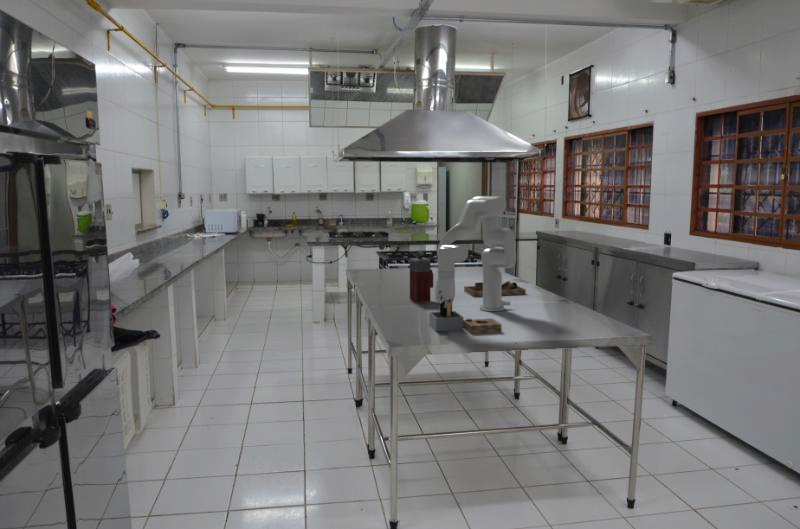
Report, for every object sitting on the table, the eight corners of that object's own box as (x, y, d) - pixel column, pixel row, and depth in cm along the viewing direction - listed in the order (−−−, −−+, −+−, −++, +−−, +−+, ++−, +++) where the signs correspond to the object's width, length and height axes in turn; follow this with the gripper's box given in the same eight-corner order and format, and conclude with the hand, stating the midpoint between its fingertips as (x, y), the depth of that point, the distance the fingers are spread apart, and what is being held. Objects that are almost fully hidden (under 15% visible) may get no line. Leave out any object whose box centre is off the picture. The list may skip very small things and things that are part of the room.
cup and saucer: (489, 291, 340) (490, 281, 339) (492, 295, 328) (492, 285, 327) (469, 292, 340) (470, 281, 340) (472, 295, 328) (472, 285, 328)
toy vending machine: (434, 301, 313) (434, 250, 310) (415, 302, 309) (415, 251, 306) (427, 298, 322) (427, 249, 318) (409, 299, 318) (409, 250, 314)
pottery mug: (510, 296, 328) (503, 283, 329) (500, 301, 336) (493, 288, 337) (523, 289, 334) (516, 276, 335) (514, 293, 342) (507, 281, 343)
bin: (455, 323, 262) (455, 311, 261) (463, 330, 250) (463, 317, 249) (429, 325, 259) (429, 312, 259) (436, 331, 247) (436, 318, 247)
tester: (492, 326, 257) (492, 317, 257) (501, 332, 247) (501, 322, 246) (462, 327, 255) (463, 318, 254) (470, 333, 244) (470, 324, 243)
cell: (449, 320, 257) (449, 299, 255) (451, 322, 253) (451, 301, 251) (440, 320, 256) (440, 299, 254) (442, 323, 252) (443, 301, 251)
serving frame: (514, 289, 347) (514, 284, 347) (525, 294, 331) (525, 289, 330) (464, 291, 341) (464, 286, 341) (473, 296, 325) (473, 291, 324)
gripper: (448, 271, 260) (447, 310, 263) (429, 276, 247) (429, 317, 249) (462, 272, 256) (462, 312, 259) (444, 278, 242) (444, 319, 245)
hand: (446, 314), depth 254 cm, fingers closed on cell, 4 cm apart
